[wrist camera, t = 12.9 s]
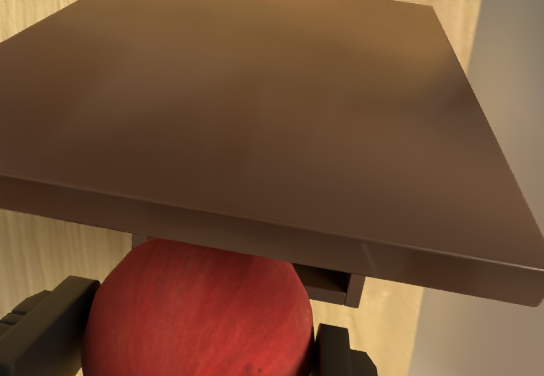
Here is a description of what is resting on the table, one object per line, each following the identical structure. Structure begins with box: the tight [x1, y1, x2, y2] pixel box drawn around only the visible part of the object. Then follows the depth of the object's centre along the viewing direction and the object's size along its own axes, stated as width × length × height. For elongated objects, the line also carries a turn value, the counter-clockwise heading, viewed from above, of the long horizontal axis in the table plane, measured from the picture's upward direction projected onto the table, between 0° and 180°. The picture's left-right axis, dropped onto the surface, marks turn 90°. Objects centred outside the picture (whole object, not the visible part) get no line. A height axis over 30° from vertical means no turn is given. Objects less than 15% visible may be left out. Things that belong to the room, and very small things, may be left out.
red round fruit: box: [81, 237, 315, 376], centre depth 12 cm, size 6×6×8 cm
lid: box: [0, 0, 544, 307], centre depth 13 cm, size 14×11×1 cm
